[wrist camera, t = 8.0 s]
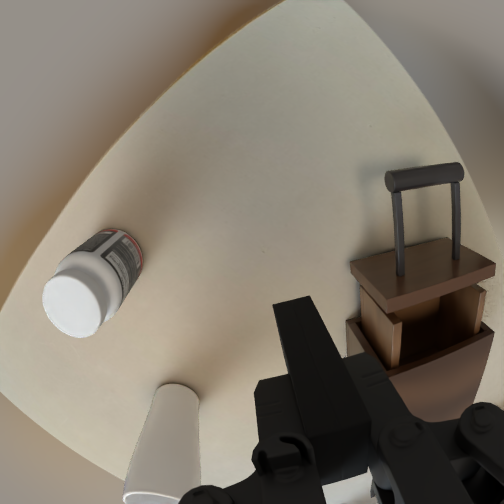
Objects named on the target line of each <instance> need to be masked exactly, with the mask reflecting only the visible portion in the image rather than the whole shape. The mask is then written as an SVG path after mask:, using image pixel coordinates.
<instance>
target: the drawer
mask: <svg viewBox="0 0 504 504" xmlns="http://www.w3.org/2000/svg"><path fill="white" fill-rule="evenodd" d="M463 178H464V170H463V167H462V165H461V164H460V163H458V162H453V163H444V164H436V165H428V166H420V167H412V168H405V169H398V170H391V171H387V172H386V173H385V185H386V187H387V189H388V191H389V192H391V196H392V207H393V220H394V236H395V251H391V252H387V253H383V254H379V255H375V256H371V257H367V258H363V259H358V260H354V261H350V269H351V274H352V275H353V276H354V277H355V278H356V279H357V280H358V282H359V283H360V284H361V285H360V300H361V326H362V334H363V335H364V337H365V338H366V340H367V341H368V343H369V344H370V346H371V347H372V349H373V350H374V352H375V354H376V355H377V357H378V358H379V360H380V361H381V363H382V364H383V366H384V368H385V369H386V371H389V370H392V369H395V368H398V367H401V366H403V365H406V364H409V363H412V362H414V361H417V360H420V359H422V358H425V357H427V356H430V355H432V354H435V353H437V352H440V351H442V350H444V349H447V348H449V347H451V346H454V345H456V344H458V343H460V342H463V341H465V340H467V339H469V338H471V337H473V336H476V335H478V334H479V330H480V325H481V320H482V314H483V308H484V302H485V296H486V290H484V289H483V288H482V287H480V286H479V285H477V284H476V283H478V282H480V281H483V280H485V279H488V278H490V277H493V276H495V267H496V263H494V262H493V261H491V260H489V259H487V258H485V257H484V256H482V255H480V254H478V253H476V252H474V251H473V250H471V249H469V248H467V247H465V246H463V245H461V244H460V237H461V208H460V183H459V182H460V181H462V180H463ZM447 183H451V198H452V240H451V239H449V238H447V237H446V238H443V239H439V240H435V241H431V242H427V243H423V244H419V245H415V246H412V247H408V248H404V227H403V211H402V198H401V192H399V191H405V190H411V189H417V188H423V187H429V186H435V185H441V184H447Z"/></svg>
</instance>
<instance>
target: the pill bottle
mask: <svg viewBox="0 0 504 504" xmlns="http://www.w3.org/2000/svg"><path fill="white" fill-rule="evenodd" d="M142 266H143V258H142V253H141V250H140V248H139V246H138V244H137V243H136V241H135V240H134V239H133V238H132V237H131V236H130V235H128V234H127V233H125V232H123V231H120V230H116V229H106V230H103V231H100V232H98V233H97V234H95V235H94V236H93V237H91V238H90V239H88V240H87V241H86V242H84V243H83V244H82V245H80V246H79V247H78V248H76V249H75V250H74V251H72V252H71V253H70V254H68V255H67V256H66V257H65V258H64V259H63V260H62V261H61V262H60V263H59V265H58V267H57V269H56V271H55V275H54V276H53V277H52V278H51V279H50V280H49V281H48V282H47V283H46V285H45V287H44V290H43V296H42V298H43V306H44V309H45V311H46V314H47V316H48V317H49V319H50V320H51V322H52V323H53V324H54V325H55V326H56V327H57V328H58V329H59V330H61V331H62V332H63V333H65V334H67V335H69V336H72V337H77V338H84V337H88V336H91V335H92V334H94V333H95V332H96V331H97V330H98V328H99V327H100V326H101V325H102V323H103V322H105V321H107V320H109V319H110V318H111V317H113V316H114V315H115V313H116V312H117V311H118V309H119V308H120V306H121V304H122V303H123V301H124V299H125V298H126V296H127V295H128V293H129V291H130V290H131V288H132V287H133V285H134V283H135V282H136V281H137V279H138V277H139V275H140V273H141V270H142Z"/></svg>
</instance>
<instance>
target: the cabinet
mask: <svg viewBox="0 0 504 504" xmlns="http://www.w3.org/2000/svg"><path fill="white" fill-rule="evenodd" d="M494 333H495V332H494V331H493V330H492V329H490V328H489V327H488V326H487V325H486V324H485V323H483V322H482V321H481V325H480V330H479V334H478V335H476V336H473V337H471V338H469V339H467V340H465V341H463V342H460V343H458V344H456V345H454V346H451V347H449V348H447V349H444V350H442V351H440V352H437V353H435V354H432V355H430V356H427V357H425V358H422V359H420V360H417V361H414V362H412V363H409V364H406V365H403V366H401V367H398V368H395V369H392V370H389V371H386V369H385V368H384V366H383V364H382V363H381V361H380V360H379V358H378V357H377V355H376V354H375V352H374V350H373V349H372V347H371V346H370V344H369V343H368V341H367V340H366V338H365V337H364V335H363V334H362V326H361V317H357V318H354V319H350V320H346V334H347V356H348V357H349V356H352V355H355V354H359V353H362V352H367V353H368V354H370V355H371V356H373V357H375V358H376V359H377V360H378V362H379V363H380V365H381V366H382V368H383V370H384V371H385V373H386V374H387V376H388V377H389V380H391V382H392V384H393V385H394V387H395V389H396V390H397V392H398V393H399V395H400V397H401V398H402V400H403V401H404V403H405V405H406V406H407V408H408V410H409V411H410V412H411V413H412V415H414V416H415V417H418V418H420V419H422V420H423V421H426V422H441V421H447V420H452V419H458V418H460V416H461V414H462V413H463V412H464V410H465V409H466V408H467V407H469V406H471V405H472V404H473V402H474V399H475V396H476V394H477V391H478V388H479V385H480V382H481V379H482V376H483V373H484V370H485V366H486V363H487V360H488V356H489V353H490V349H491V345H492V341H493V337H494Z"/></svg>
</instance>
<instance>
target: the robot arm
mask: <svg viewBox="0 0 504 504" xmlns="http://www.w3.org/2000/svg"><path fill="white" fill-rule="evenodd" d="M273 309H274V314H275V318H276V323H277V327H278V332H279V336H280V341H281V345H282V349H283V354H284V358H285V362H286V366H287V370H288V374H286V375H281V376H277V377H273V378H268V379H263V380H259V382H258V384H257V387H256V389H255V391H254V398H255V406H256V407H255V408H256V416H257V426H258V435H259V443H258V444H257V446H256V447H255V449H254V450H253V454H252V462H253V464H254V466H255V468H256V470H255V472H254V473H253V474H252V475H250V476H249V477H248V478H246V479H245V480H243V481H241V482H239V483H236V484H234V485H231V486H229V487H226V488H224V489H222V488H220V487H216V486H213V485H202V486H198V487H196V488H193V489H191V490H189V491H188V492H187V493H185V494H184V495H183V496H182V498H181V500H180V501H179V503H178V504H326V500H325V497H324V493H323V489H322V486H323V485H327V484H331V483H334V482H338V481H341V480H345V479H348V478H351V477H355V476H358V475H361V474H364V473H367V470H368V466H369V469H370V472H371V474H372V477H373V479H372V485H371V491H370V492H371V498H372V497H375V495H376V498H377V501H378V503H379V504H504V411H503V410H502V409H500V408H499V407H498V406H496V405H494V404H492V403H487V402H479V403H475V404H472V405H471V406H469V407H467V408H466V409H465V410H464V412H463V413H462V414H461V416H460V418H458V419H452V420H447V421H441V422H426V421H423V420H422V419H420V418H418V417H415V416H414V415H412V413H411V412H410V411H409V410H408V408H407V406H406V405H405V403H404V401H403V400H402V398H401V397H400V395H399V393H398V392H397V390H396V389H395V387H394V385H393V384H392V382H391V380H389V377H388V376H387V374H386V373H385V371H384V370H383V368H382V366H381V365H380V363H379V362H378V360H377V359H376V358H375V357H373V356H371V355H370V354H368V353H367V352H362V353H359V354H355V355H352V356H349V357H346V358H341V356H340V354H339V352H338V350H337V348H336V346H335V344H334V342H333V340H332V338H331V336H330V334H329V332H328V330H327V328H326V326H325V324H324V322H323V320H322V318H321V316H320V315H319V313H318V311H317V309H316V307H315V305H314V303H313V301H312V299H311V297H310V295H309V296H305V297H301V298H297V299H293V300H289V301H285V302H281V303H277V304H273Z"/></svg>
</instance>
